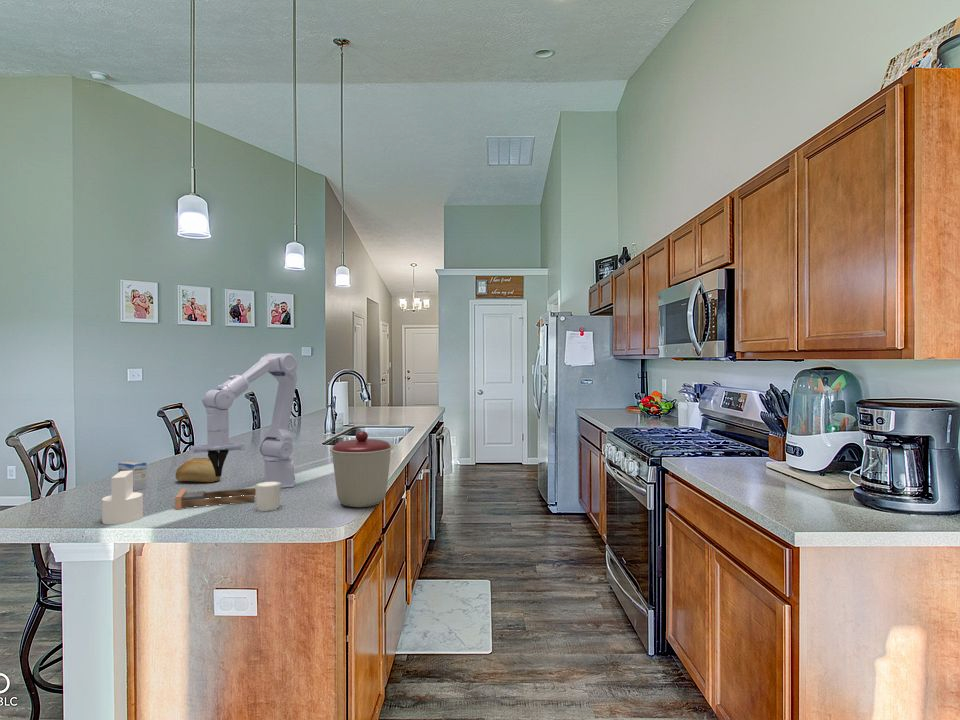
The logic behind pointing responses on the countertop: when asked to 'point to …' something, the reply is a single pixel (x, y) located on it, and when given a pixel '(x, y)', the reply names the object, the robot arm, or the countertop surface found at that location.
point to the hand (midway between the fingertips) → (218, 475)
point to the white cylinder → (268, 495)
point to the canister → (361, 470)
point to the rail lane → (216, 501)
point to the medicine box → (135, 473)
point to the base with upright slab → (122, 501)
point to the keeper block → (194, 495)
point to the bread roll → (197, 471)
